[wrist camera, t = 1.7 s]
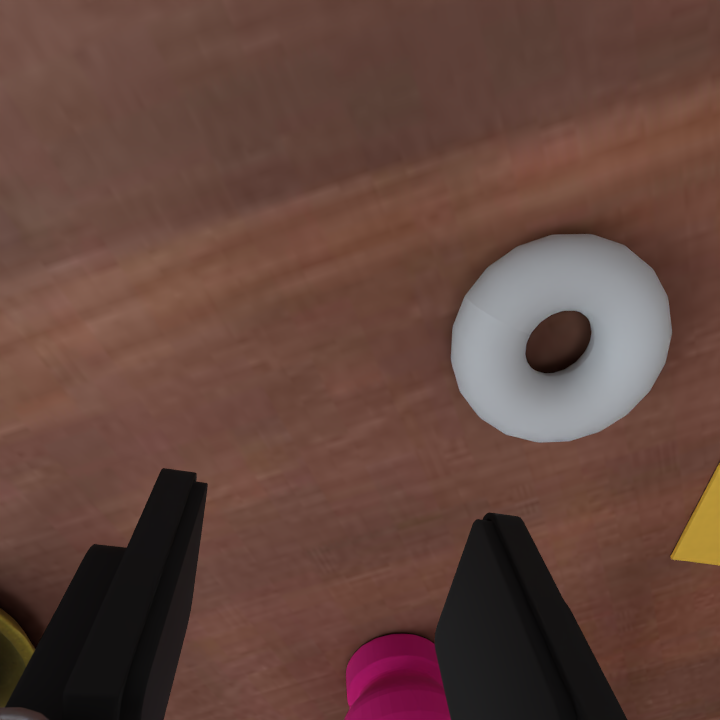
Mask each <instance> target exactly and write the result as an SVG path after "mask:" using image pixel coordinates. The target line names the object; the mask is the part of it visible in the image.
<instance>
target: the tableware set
mask: <svg viewBox="0 0 720 720" xmlns="http://www.w3.org/2000/svg"><path fill="white" fill-rule="evenodd" d="M34 651H35V648H34V646H33V645H32V643H31V641H30V640H29V638H28V637H27V635H26V634H25V632H24V631H23V629H22V628H21V627H20V625H19V624H18V623H17V622H16V621H15V620H14V619H13V618H12V617H11V616H10V615H8V614H7V613H6V612H5V611H3V610H2V609H1V608H0V707H5V706H6V704H7V702H8V700H9V698H10V696H11V694H12V693H13V691H14V689H15V687H16V685H17V683H18V681H19V679H20V677H21V676H22V674H23V672H24V670H25V668H26V666H27V664H28V662H29V660H30V659H31V657H32V655H33V653H34Z"/></svg>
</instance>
